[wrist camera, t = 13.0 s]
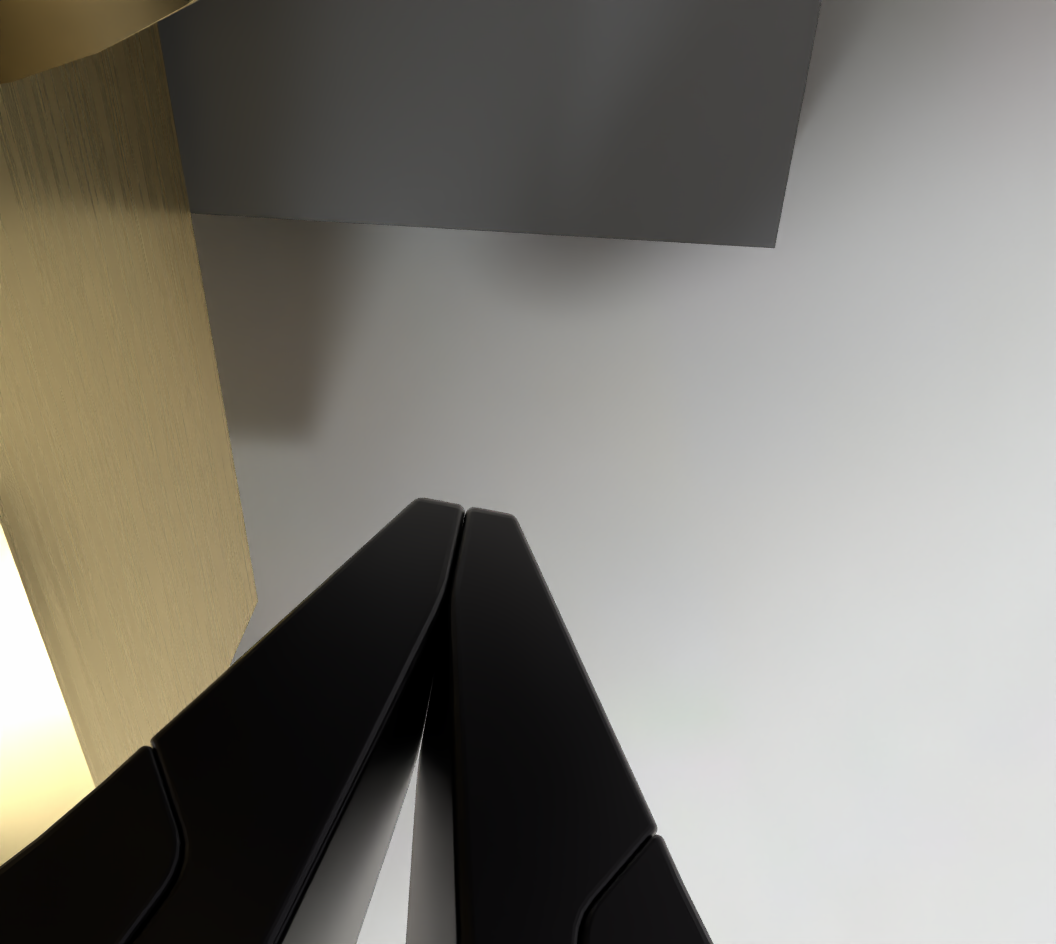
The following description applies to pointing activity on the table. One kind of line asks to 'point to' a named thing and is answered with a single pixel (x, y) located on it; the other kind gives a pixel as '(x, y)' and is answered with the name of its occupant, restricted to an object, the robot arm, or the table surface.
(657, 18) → the nut base
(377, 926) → the table surface
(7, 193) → the gold low rounded piece
